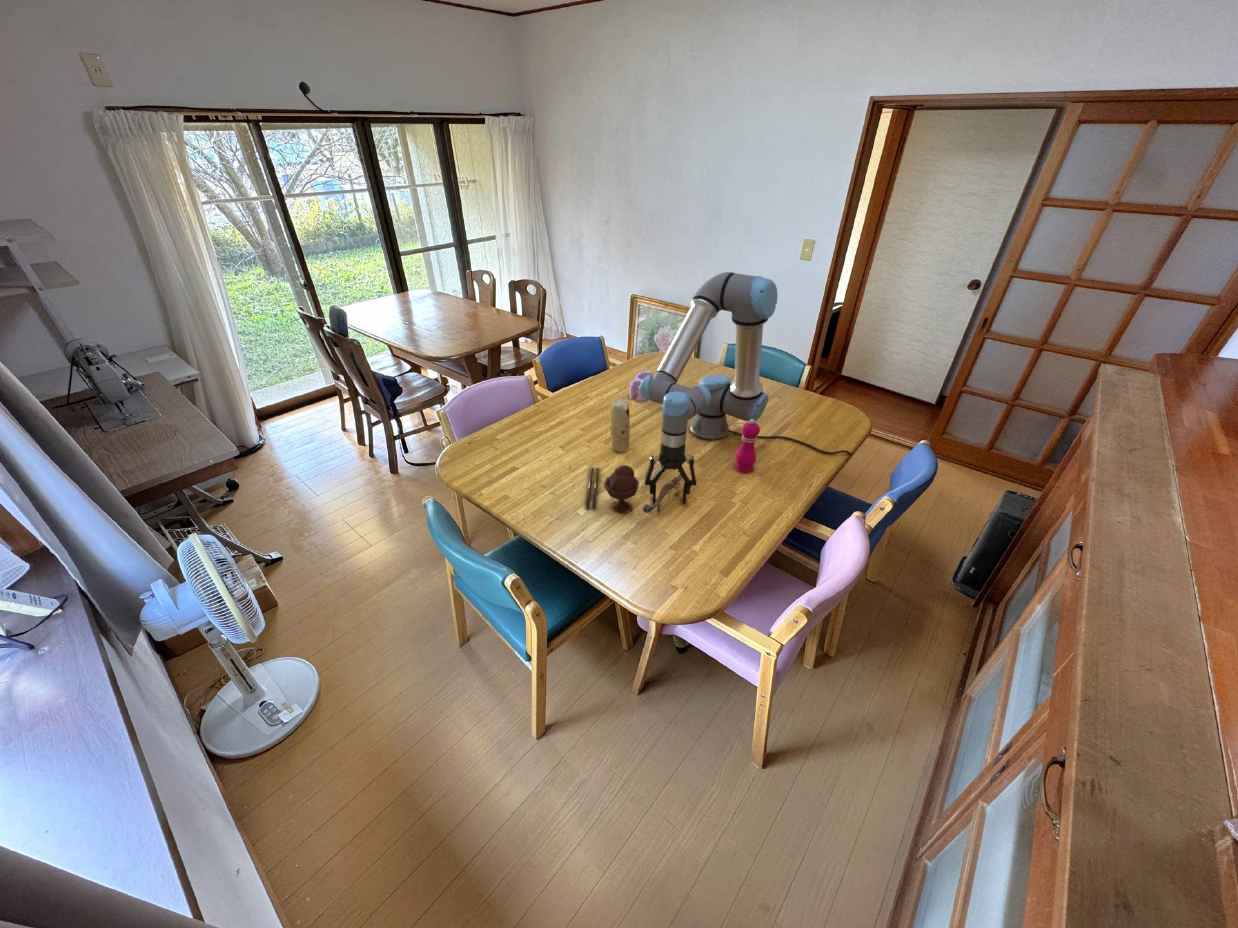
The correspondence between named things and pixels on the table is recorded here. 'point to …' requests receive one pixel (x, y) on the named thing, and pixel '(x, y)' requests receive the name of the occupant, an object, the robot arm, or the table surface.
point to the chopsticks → (594, 488)
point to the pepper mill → (747, 447)
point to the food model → (620, 425)
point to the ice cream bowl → (622, 487)
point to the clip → (638, 385)
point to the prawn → (663, 492)
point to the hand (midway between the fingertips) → (668, 501)
